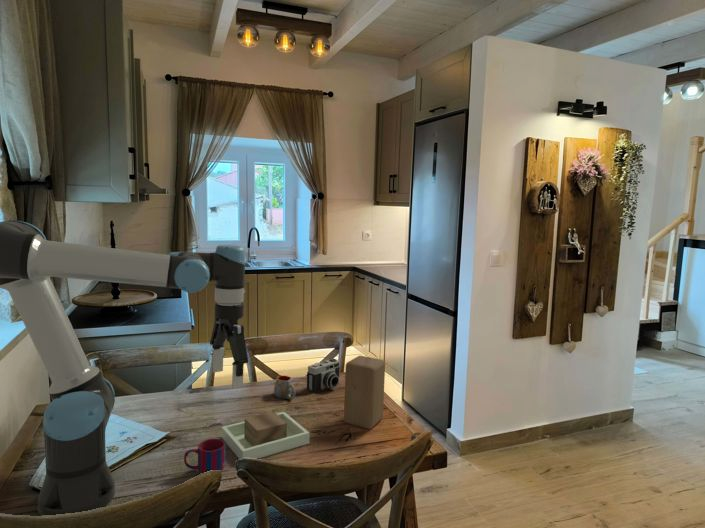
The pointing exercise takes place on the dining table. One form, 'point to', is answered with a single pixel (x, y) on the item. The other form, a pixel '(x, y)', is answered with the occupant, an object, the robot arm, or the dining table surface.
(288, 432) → the tray
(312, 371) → the camera
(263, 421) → the walnut block
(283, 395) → the mug
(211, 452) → the cup
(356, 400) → the wooden block
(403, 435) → the dining table surface
